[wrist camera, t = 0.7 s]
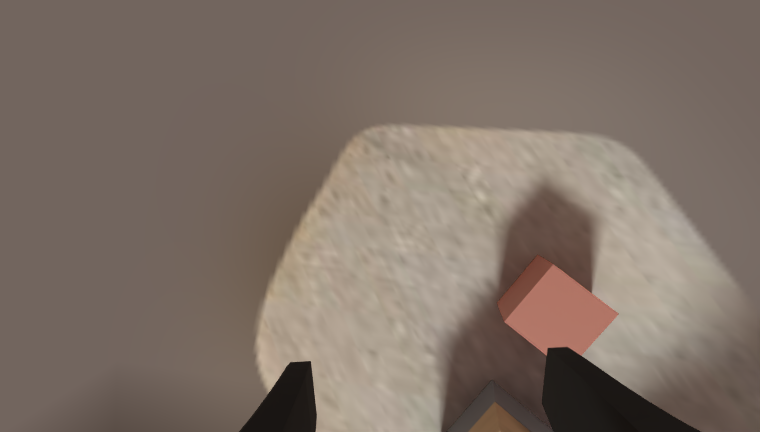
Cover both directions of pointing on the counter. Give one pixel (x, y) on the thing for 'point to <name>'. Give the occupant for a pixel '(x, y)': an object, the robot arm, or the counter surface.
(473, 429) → the tower middle
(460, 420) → the tower base
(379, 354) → the counter surface
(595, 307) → the red block
